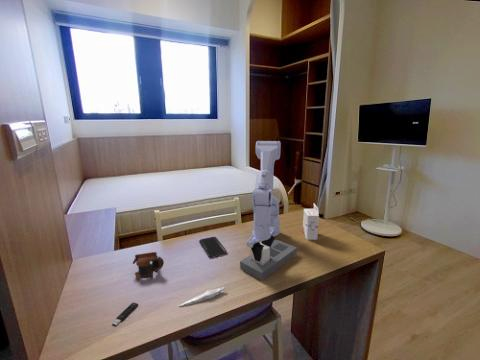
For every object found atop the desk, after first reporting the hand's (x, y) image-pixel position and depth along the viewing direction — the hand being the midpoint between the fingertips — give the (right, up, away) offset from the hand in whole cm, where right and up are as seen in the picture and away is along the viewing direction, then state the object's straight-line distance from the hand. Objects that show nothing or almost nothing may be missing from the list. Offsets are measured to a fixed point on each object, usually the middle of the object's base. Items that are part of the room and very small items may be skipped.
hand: (261, 257), depth 88 cm
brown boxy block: (-40, -5, -1) cm, 40 cm away
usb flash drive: (-40, -10, -20) cm, 45 cm away
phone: (-19, -1, +15) cm, 25 cm away
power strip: (+3, -3, +5) cm, 6 cm away
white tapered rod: (-19, -8, -14) cm, 25 cm away
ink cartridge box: (+24, +2, +24) cm, 34 cm away
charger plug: (0, -2, +1) cm, 2 cm away
